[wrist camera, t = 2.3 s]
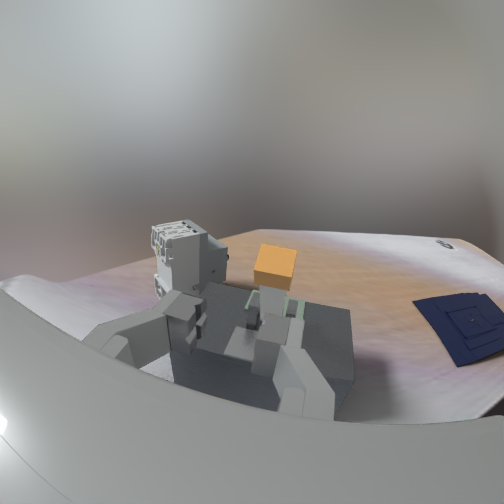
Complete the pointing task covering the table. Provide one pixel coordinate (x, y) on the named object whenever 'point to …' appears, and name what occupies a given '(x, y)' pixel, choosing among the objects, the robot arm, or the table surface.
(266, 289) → the lever
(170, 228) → the circuit breaker
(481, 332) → the dark blue panel
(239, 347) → the box
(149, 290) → the table surface
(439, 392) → the table surface
